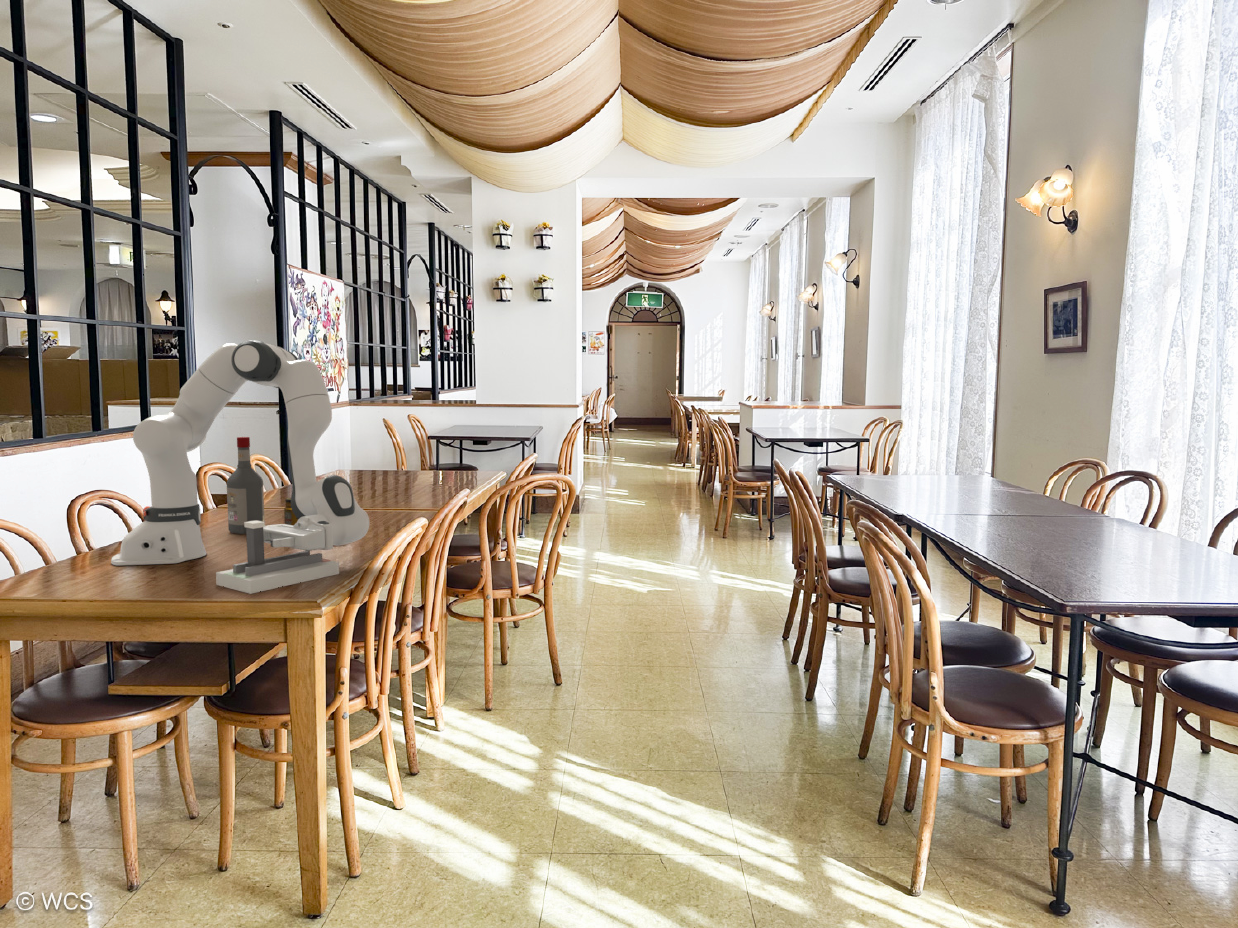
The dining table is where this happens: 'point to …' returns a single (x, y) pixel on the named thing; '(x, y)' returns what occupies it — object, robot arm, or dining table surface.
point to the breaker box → (277, 572)
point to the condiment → (289, 513)
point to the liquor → (244, 491)
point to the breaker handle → (255, 542)
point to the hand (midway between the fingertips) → (260, 541)
